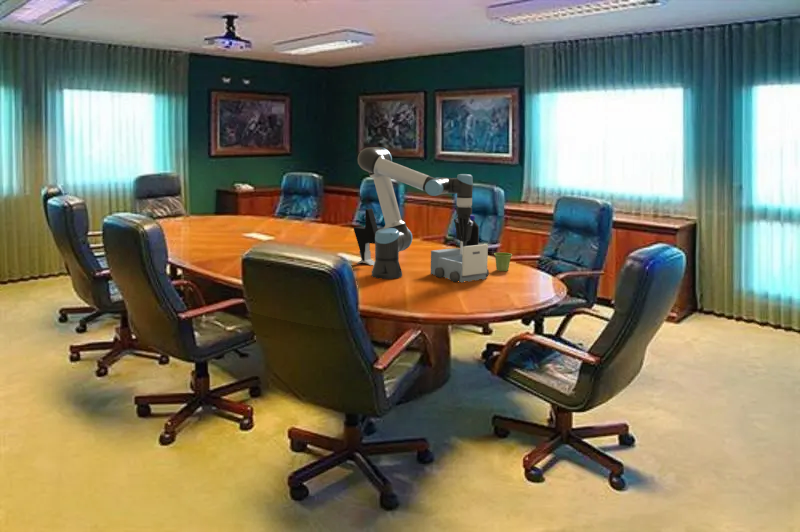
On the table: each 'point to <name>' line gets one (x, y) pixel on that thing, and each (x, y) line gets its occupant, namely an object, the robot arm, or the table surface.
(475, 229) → the bottle
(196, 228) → the table surface
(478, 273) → the tailgate
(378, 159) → the robot arm
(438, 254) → the truck bed
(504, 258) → the plant pot
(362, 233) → the award
